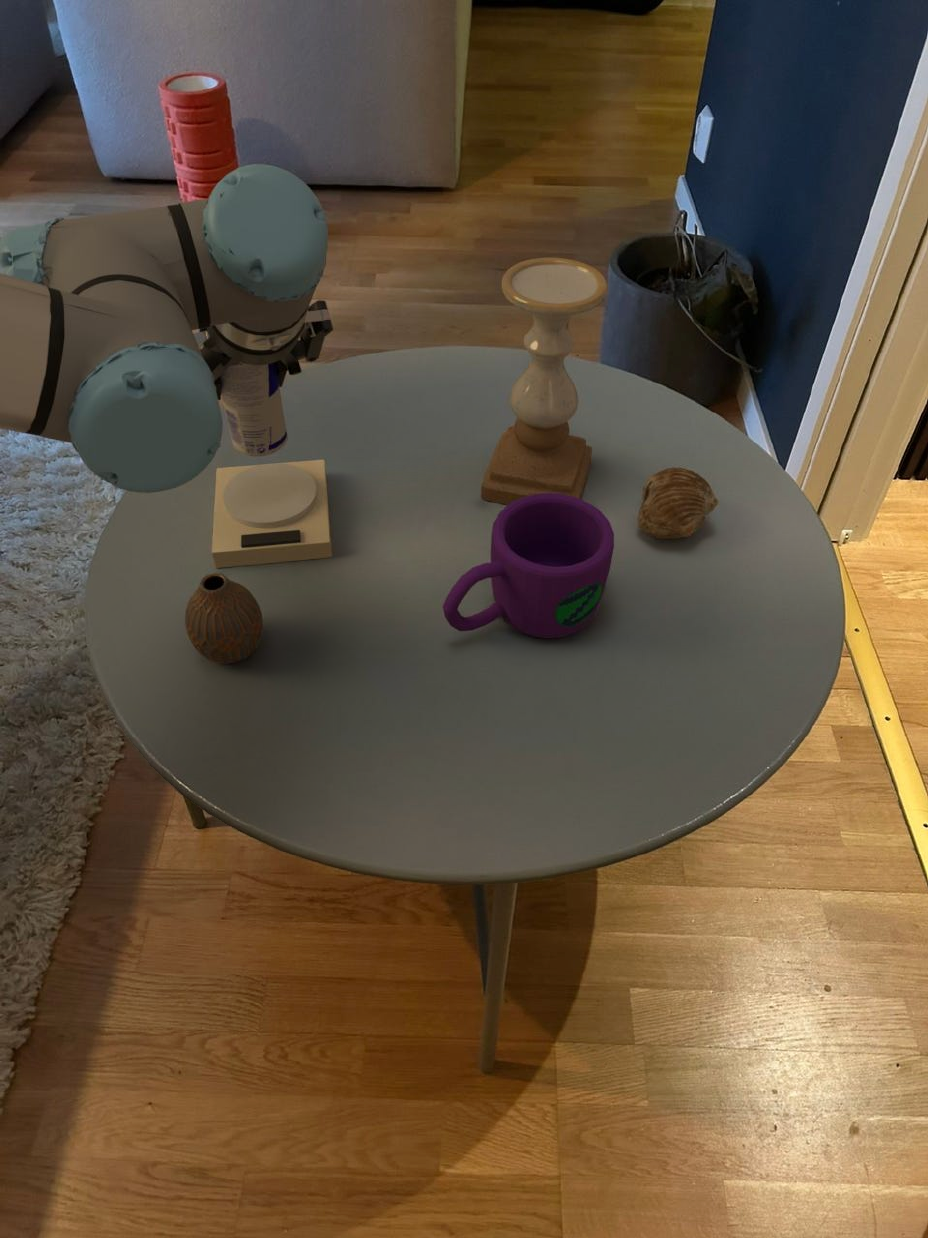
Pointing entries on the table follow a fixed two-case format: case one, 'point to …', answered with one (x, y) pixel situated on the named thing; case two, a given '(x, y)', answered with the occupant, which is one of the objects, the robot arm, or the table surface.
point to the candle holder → (544, 384)
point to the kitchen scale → (271, 514)
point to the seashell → (675, 503)
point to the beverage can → (254, 408)
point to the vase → (223, 620)
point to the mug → (541, 567)
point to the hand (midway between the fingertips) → (244, 380)
